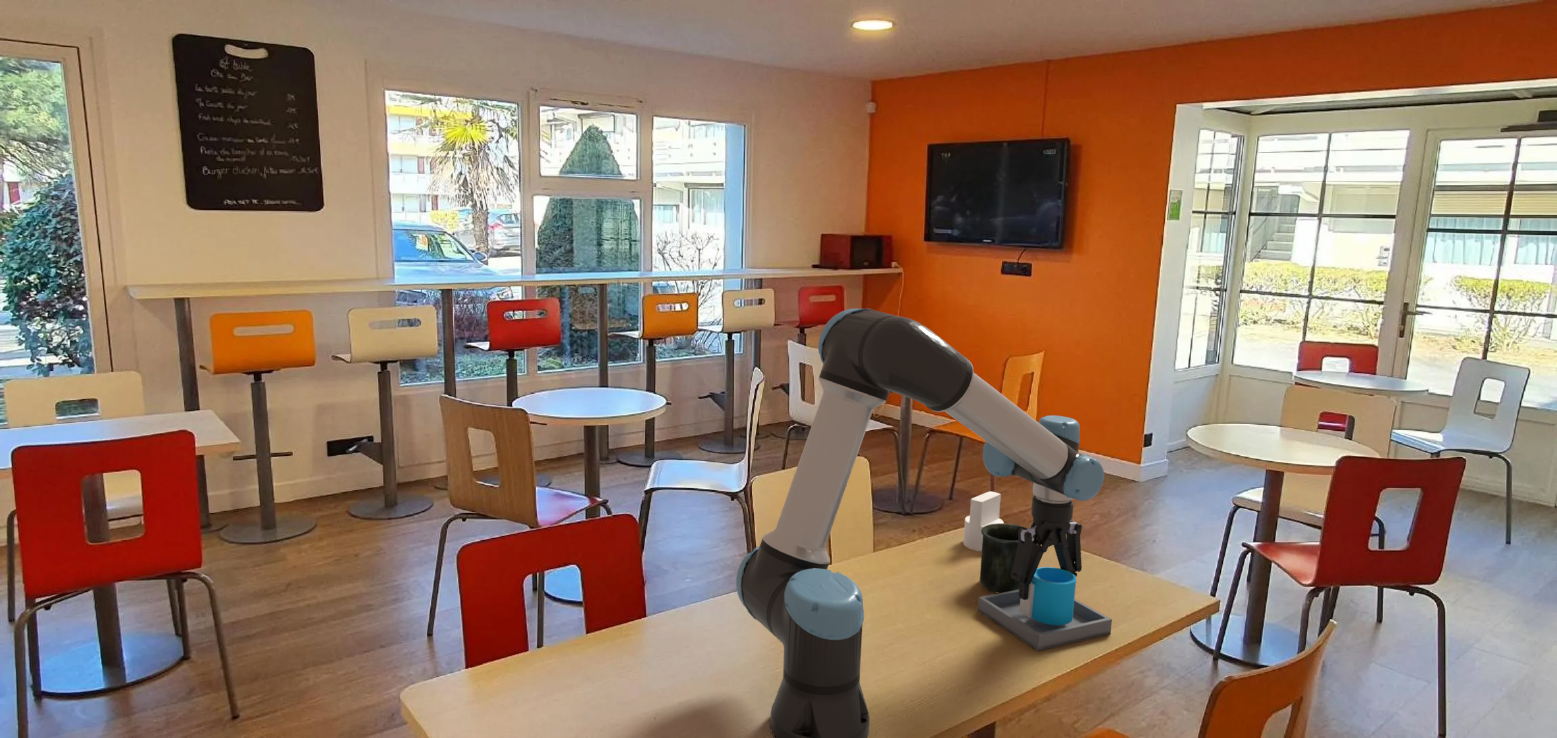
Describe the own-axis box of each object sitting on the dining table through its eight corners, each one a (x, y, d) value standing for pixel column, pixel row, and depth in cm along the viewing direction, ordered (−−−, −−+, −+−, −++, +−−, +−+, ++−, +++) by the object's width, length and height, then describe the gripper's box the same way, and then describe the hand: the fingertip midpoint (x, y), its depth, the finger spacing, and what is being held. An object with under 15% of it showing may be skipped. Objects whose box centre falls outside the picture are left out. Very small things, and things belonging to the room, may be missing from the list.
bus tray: (1038, 651, 167) (1039, 635, 166) (977, 611, 183) (978, 597, 182) (1110, 633, 174) (1112, 619, 174) (1046, 597, 190) (1048, 583, 189)
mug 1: (966, 580, 198) (970, 527, 195) (1019, 569, 204) (1023, 518, 202) (1000, 600, 188) (1004, 544, 186) (1054, 588, 195) (1058, 534, 192)
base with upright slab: (989, 554, 212) (993, 505, 210) (956, 544, 218) (959, 496, 216) (1009, 545, 219) (1012, 496, 217) (976, 535, 225) (979, 488, 223)
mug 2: (1081, 622, 174) (1085, 581, 172) (1045, 627, 171) (1048, 586, 170) (1043, 595, 185) (1046, 557, 184) (1008, 600, 182) (1011, 561, 181)
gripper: (1022, 510, 166) (1013, 627, 170) (1109, 497, 175) (1098, 609, 179) (996, 497, 173) (987, 611, 177) (1080, 486, 182) (1071, 594, 186)
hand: (1043, 610), depth 178 cm, fingers closed on mug 2, 8 cm apart
